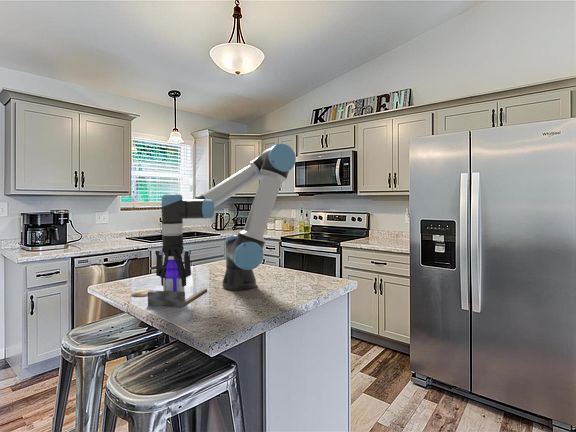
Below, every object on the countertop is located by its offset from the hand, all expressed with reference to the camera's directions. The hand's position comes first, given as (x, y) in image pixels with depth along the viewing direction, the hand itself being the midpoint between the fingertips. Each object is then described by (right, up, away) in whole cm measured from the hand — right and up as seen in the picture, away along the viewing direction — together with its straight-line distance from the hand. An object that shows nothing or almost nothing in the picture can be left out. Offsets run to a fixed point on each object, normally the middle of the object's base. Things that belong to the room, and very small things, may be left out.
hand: (174, 294), depth 128 cm
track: (+1, -2, +5) cm, 5 cm away
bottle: (0, -3, 0) cm, 3 cm away
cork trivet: (-17, -2, +11) cm, 20 cm away
